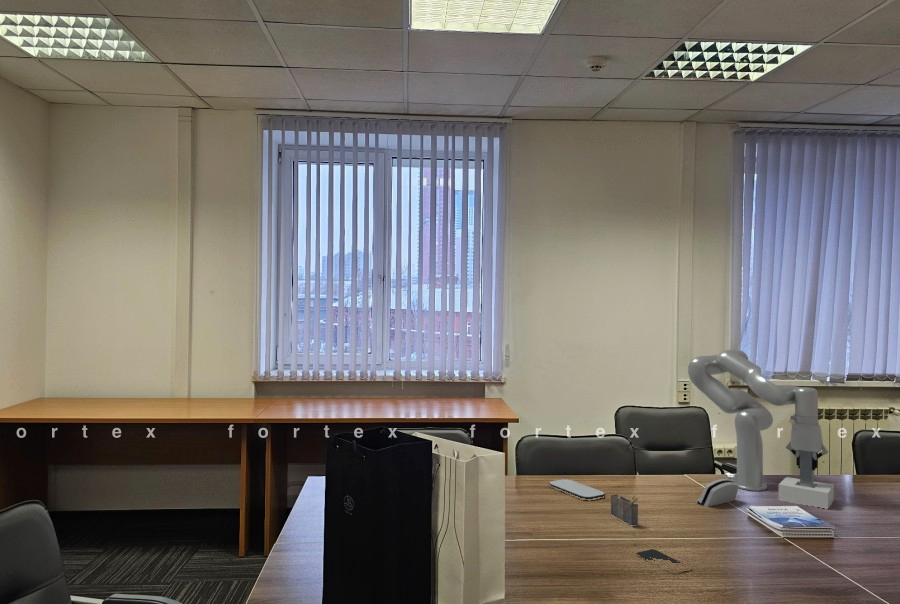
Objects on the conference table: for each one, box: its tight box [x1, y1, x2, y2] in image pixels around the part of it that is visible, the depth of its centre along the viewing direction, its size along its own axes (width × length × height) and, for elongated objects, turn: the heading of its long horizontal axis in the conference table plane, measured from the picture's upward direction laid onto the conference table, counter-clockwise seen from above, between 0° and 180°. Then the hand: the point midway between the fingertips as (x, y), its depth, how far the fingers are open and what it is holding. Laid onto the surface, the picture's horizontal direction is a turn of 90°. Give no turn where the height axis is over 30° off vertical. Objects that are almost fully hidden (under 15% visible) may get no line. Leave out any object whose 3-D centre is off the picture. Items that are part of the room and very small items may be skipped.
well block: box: [778, 476, 835, 510], centre depth 229 cm, size 16×14×6 cm
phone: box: [636, 549, 684, 564], centre depth 172 cm, size 7×1×15 cm
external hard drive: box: [548, 478, 606, 499], centre depth 238 cm, size 24×12×2 cm, turn 30°
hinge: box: [695, 478, 739, 508], centre depth 225 cm, size 17×5×10 cm, turn 120°
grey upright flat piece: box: [610, 493, 639, 526], centre depth 205 cm, size 11×3×10 cm, turn 20°
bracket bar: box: [799, 450, 815, 485], centre depth 229 cm, size 4×4×14 cm
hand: (806, 468), depth 229 cm, fingers closed on bracket bar, 4 cm apart
